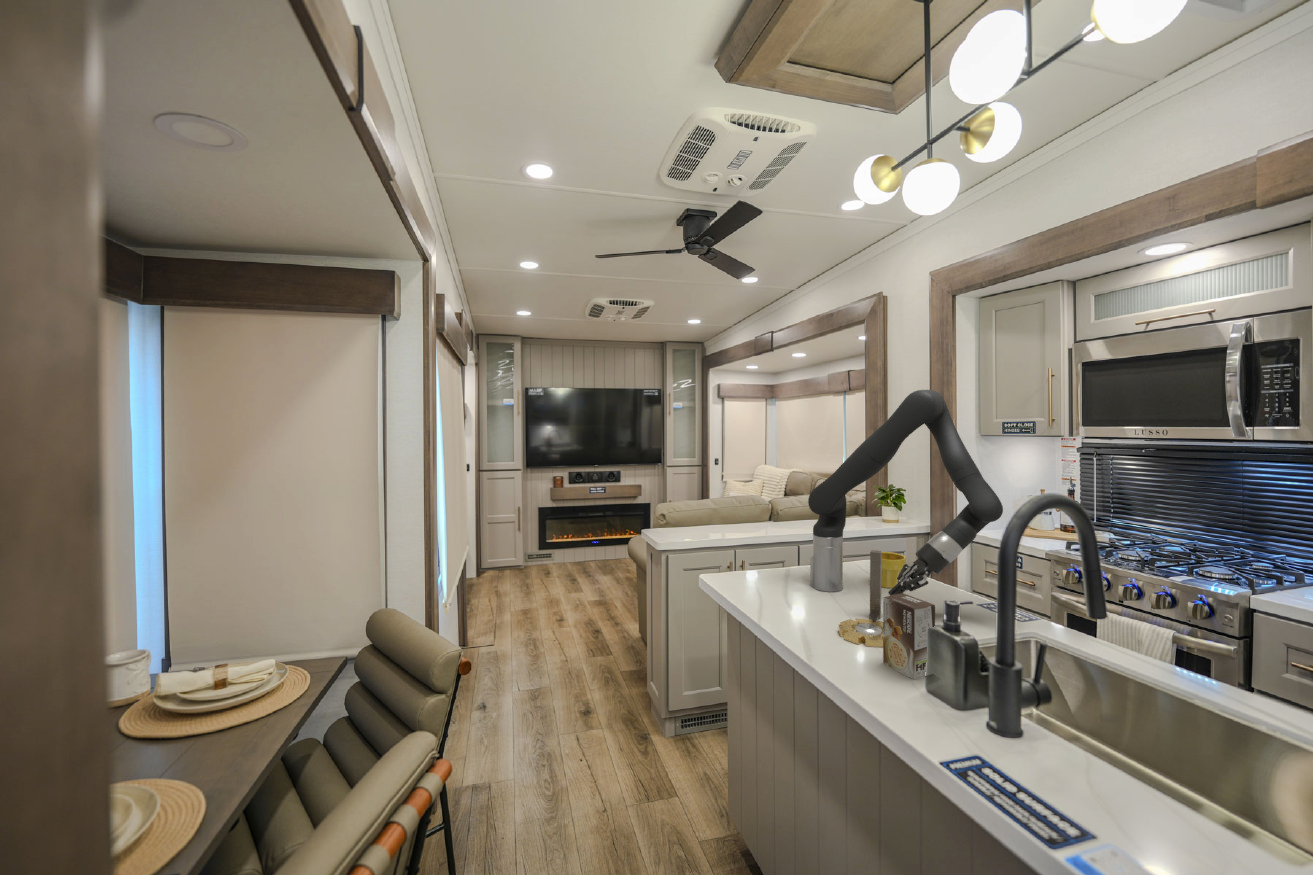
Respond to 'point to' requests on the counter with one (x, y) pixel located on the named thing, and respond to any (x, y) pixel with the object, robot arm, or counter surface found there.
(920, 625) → the coffee box
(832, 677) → the counter surface
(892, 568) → the plant pot
